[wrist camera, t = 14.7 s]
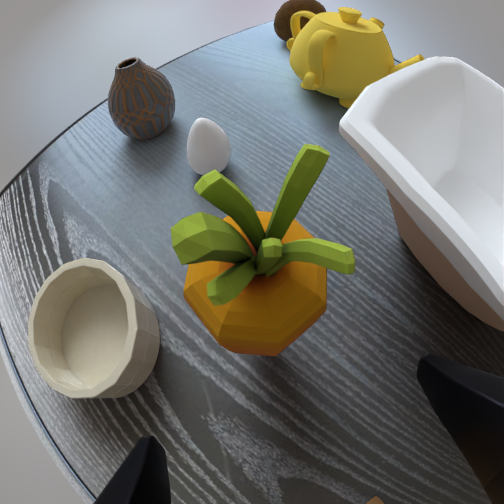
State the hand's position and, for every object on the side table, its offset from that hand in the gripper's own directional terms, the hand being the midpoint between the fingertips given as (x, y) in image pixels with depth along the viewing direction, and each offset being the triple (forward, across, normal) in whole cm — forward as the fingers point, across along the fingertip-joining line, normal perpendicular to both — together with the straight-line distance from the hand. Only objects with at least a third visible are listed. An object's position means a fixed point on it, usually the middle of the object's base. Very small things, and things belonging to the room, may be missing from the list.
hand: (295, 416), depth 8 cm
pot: (+12, +11, +2) cm, 16 cm away
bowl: (+12, -20, +2) cm, 23 cm away
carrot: (+10, 0, +4) cm, 11 cm away
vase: (+27, +6, -13) cm, 31 cm away
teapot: (+28, -18, -14) cm, 36 cm away
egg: (+21, 0, -7) cm, 22 cm away
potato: (+39, -19, -26) cm, 51 cm away
